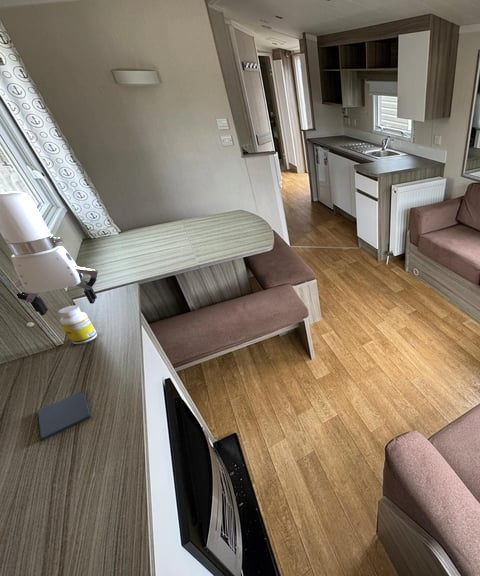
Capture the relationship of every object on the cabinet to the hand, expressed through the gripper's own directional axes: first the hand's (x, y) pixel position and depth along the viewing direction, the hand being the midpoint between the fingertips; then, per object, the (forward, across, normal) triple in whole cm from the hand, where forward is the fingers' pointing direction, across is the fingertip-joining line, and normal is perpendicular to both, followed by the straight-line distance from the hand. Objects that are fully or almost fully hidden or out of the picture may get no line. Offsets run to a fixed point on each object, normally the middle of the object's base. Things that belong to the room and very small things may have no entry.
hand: (69, 307), depth 81 cm
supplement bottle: (+10, +1, 0) cm, 11 cm away
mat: (+10, 0, +32) cm, 34 cm away
